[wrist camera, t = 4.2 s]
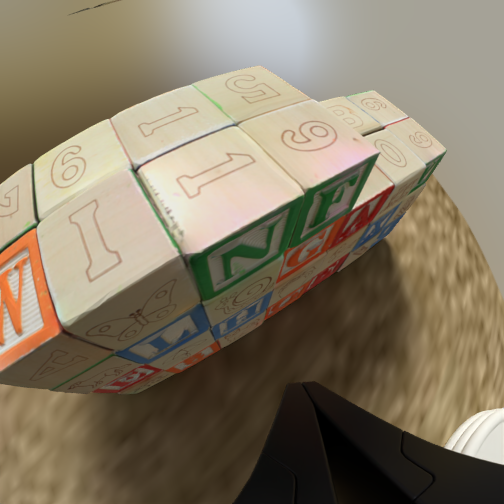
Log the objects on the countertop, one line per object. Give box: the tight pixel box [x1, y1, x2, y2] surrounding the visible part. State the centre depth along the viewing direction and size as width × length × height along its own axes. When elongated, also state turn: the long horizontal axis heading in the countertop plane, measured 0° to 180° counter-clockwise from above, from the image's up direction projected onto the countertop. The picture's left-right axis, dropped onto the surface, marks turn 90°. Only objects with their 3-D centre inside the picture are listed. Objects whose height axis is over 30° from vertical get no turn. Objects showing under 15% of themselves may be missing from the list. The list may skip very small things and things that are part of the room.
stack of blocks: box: [0, 66, 447, 395], centre depth 13 cm, size 21×6×12 cm, turn 123°
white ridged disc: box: [444, 408, 504, 465], centre depth 10 cm, size 10×10×4 cm
